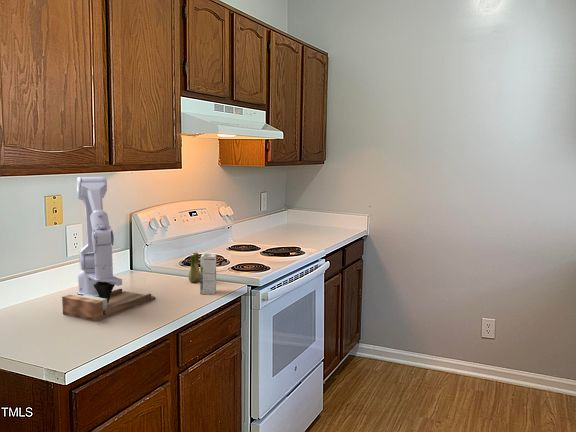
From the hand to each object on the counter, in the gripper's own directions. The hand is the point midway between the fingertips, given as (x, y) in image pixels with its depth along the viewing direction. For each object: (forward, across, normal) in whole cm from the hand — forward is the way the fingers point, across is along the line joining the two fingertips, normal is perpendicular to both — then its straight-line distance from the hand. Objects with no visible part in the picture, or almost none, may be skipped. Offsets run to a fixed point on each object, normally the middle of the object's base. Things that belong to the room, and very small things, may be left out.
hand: (105, 303), depth 184 cm
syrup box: (+2, +19, +34) cm, 39 cm away
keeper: (+1, 0, -6) cm, 6 cm away
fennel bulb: (+2, +5, +44) cm, 44 cm away
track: (+2, 0, +3) cm, 3 cm away
